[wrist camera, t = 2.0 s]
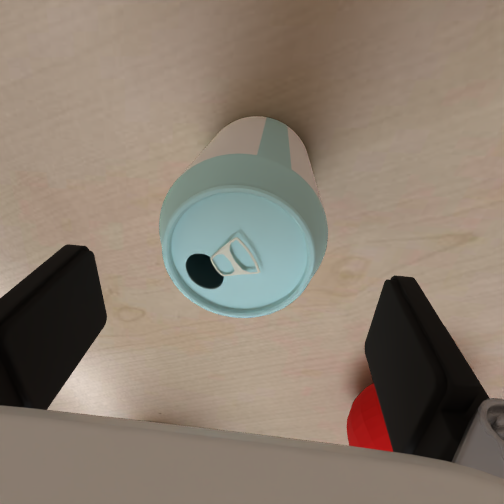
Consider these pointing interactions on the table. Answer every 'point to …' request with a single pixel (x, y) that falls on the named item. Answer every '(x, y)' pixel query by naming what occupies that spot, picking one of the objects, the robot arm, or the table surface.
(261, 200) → the can
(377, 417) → the tomato
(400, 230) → the table surface
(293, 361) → the table surface
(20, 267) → the table surface
